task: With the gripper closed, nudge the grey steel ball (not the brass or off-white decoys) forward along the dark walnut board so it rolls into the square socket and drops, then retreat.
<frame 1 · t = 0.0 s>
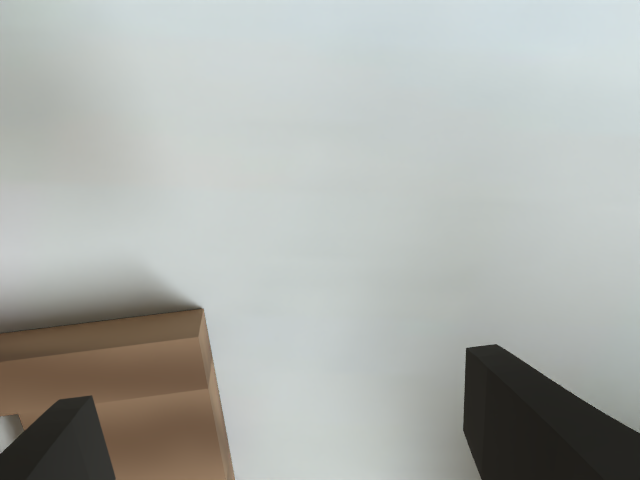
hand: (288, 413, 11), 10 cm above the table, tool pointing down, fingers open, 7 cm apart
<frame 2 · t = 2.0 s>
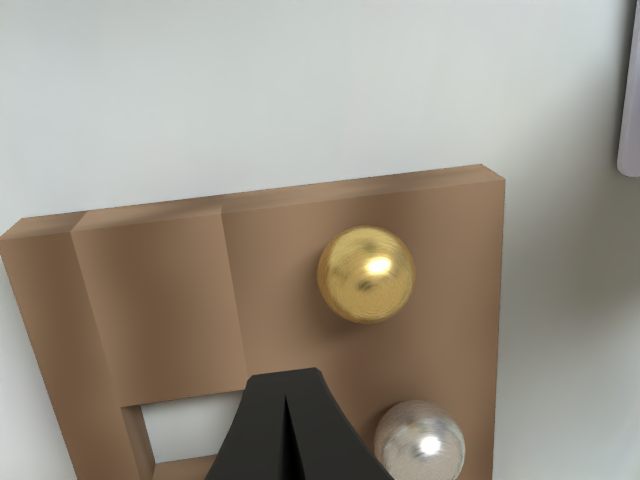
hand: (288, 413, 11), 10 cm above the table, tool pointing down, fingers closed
walnut board: (287, 399, 22), on the table
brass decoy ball: (365, 274, 17), point 3 cm above the table, touching walnut board
steel ball: (418, 446, 19), point 4 cm above the table, touching walnut board
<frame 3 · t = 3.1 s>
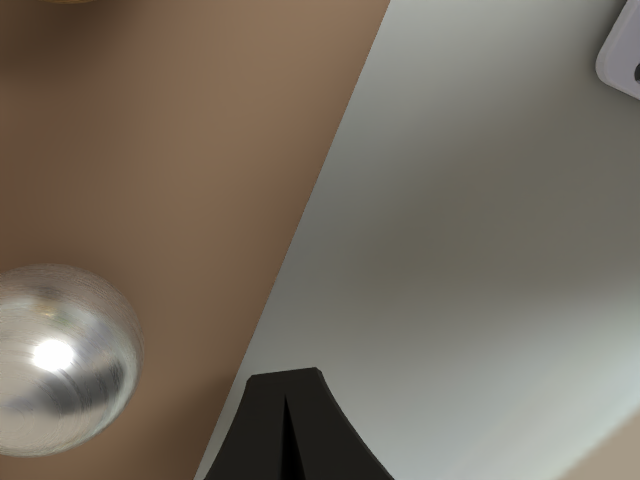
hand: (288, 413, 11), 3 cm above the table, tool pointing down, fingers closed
steel ball: (46, 357, 9), point 4 cm above the table, touching walnut board
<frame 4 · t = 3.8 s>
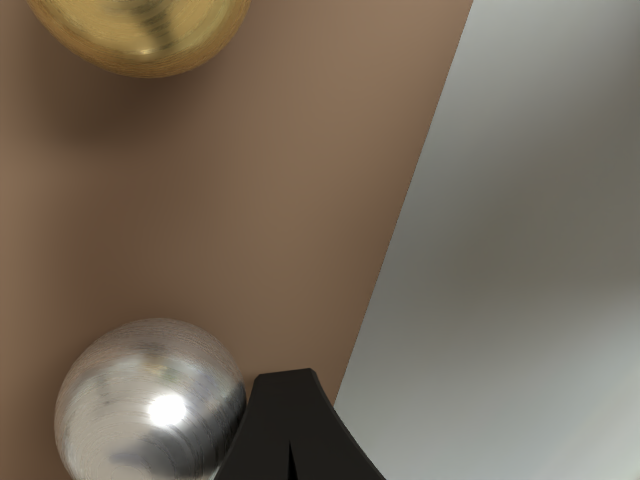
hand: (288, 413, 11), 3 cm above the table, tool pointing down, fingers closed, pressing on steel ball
steel ball: (155, 410, 10), point 4 cm above the table, tilted 5°, touching gripper, walnut board
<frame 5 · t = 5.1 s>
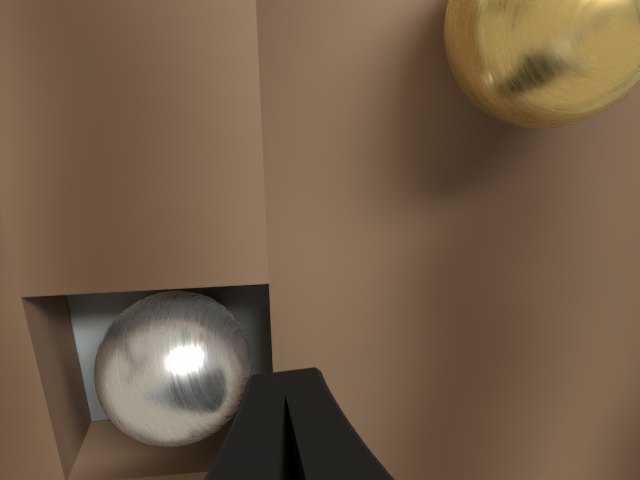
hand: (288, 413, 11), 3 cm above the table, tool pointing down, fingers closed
walnut board: (319, 328, 13), on the table
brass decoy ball: (550, 22, 8), point 3 cm above the table, touching walnut board
steel ball: (175, 366, 12), point 2 cm above the table, tilted 79°
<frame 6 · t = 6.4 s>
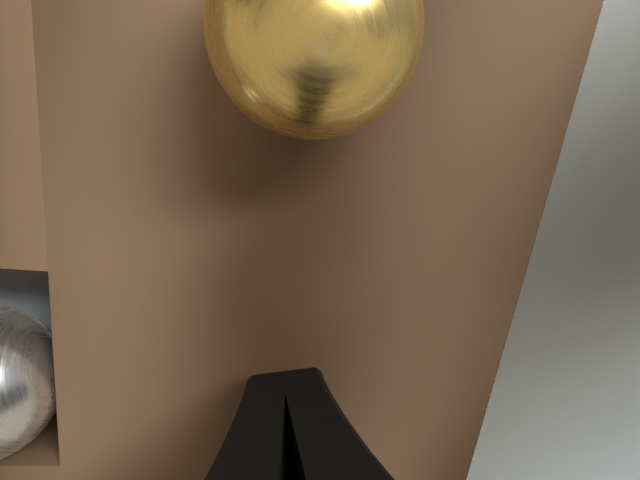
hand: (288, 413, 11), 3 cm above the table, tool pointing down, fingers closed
walnut board: (137, 326, 13), on the table
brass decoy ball: (313, 29, 8), point 3 cm above the table, touching walnut board
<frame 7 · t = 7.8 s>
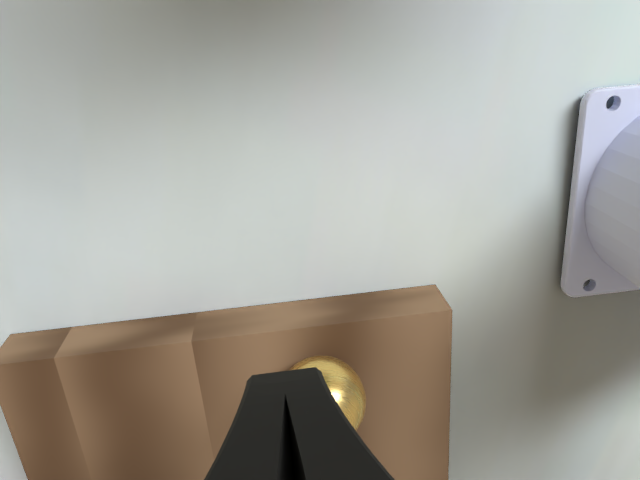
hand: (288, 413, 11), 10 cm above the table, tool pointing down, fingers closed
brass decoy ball: (321, 400, 18), point 3 cm above the table, touching walnut board
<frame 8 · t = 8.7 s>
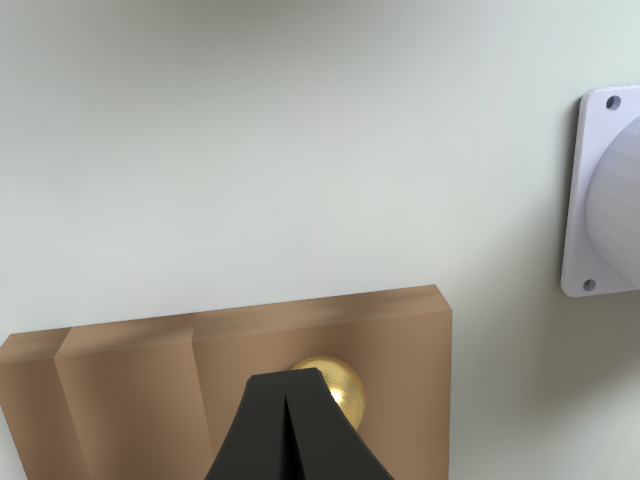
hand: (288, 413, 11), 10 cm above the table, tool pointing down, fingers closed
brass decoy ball: (321, 400, 18), point 3 cm above the table, touching walnut board
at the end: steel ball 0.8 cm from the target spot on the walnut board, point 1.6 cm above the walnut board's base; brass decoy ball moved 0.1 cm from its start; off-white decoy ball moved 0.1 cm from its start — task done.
